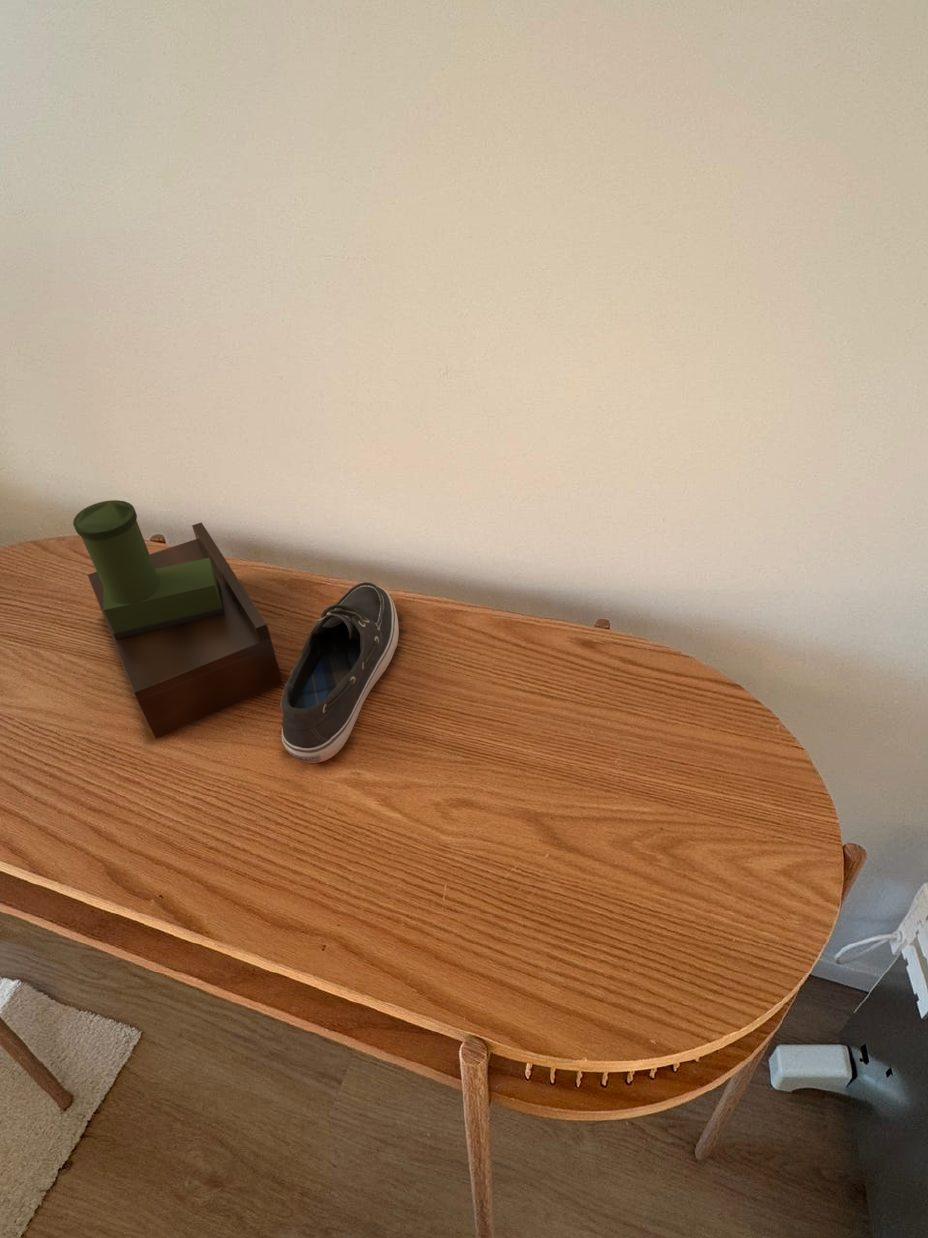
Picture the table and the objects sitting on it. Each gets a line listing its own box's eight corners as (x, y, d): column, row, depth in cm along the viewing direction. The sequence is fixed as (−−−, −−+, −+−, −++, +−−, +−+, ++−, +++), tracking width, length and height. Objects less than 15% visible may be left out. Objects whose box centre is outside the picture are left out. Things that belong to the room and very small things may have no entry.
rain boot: (115, 640, 76) (68, 538, 67) (115, 607, 80) (70, 507, 71) (224, 614, 79) (193, 513, 70) (219, 584, 83) (188, 485, 74)
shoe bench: (155, 738, 75) (127, 678, 69) (107, 619, 89) (80, 560, 83) (283, 684, 81) (267, 623, 75) (219, 579, 95) (201, 522, 89)
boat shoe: (348, 597, 92) (340, 542, 86) (416, 608, 90) (412, 553, 84) (254, 756, 73) (235, 700, 68) (336, 774, 72) (324, 718, 66)
